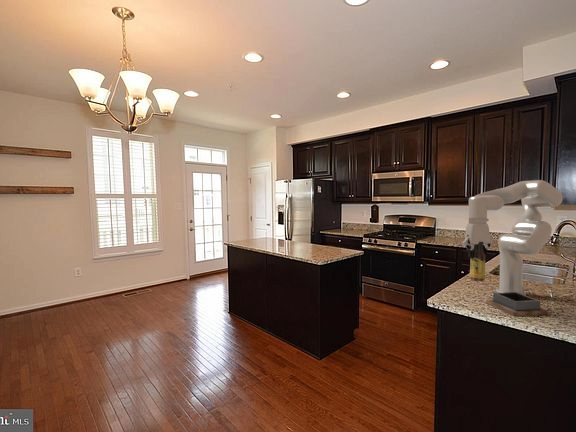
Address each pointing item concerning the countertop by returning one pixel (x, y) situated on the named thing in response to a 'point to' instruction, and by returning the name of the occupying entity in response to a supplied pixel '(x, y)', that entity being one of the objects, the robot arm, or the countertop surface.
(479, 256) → the sauce bottle
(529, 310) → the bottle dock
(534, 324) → the countertop surface
